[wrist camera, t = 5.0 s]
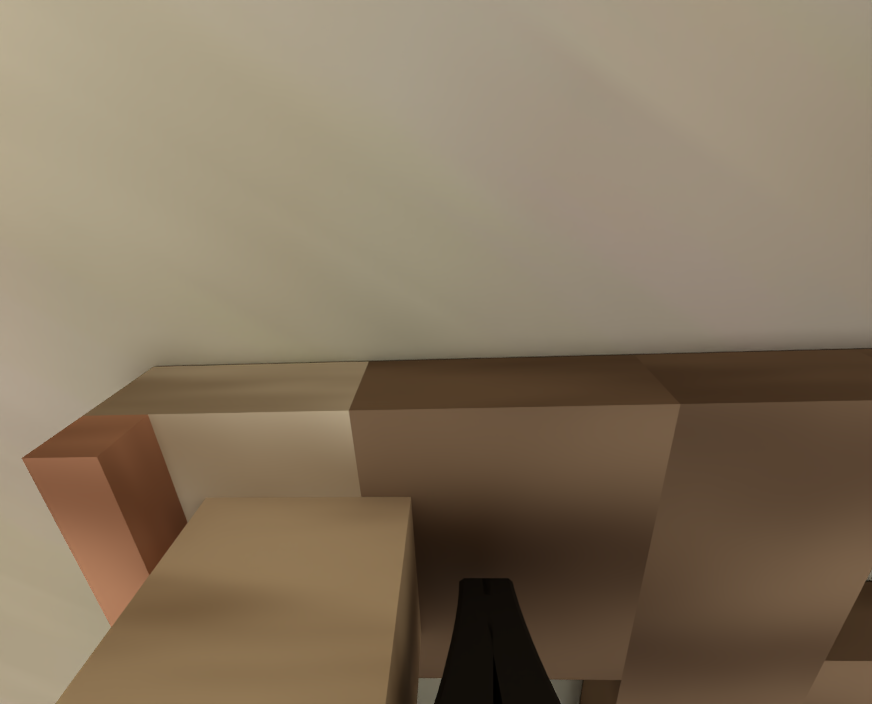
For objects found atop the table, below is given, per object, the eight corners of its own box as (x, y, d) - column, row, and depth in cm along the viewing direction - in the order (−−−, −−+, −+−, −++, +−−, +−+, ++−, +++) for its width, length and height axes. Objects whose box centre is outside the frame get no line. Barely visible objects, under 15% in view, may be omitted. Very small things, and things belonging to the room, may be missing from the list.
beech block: (421, 633, 12) (403, 913, 8) (249, 631, 13) (133, 902, 8) (411, 496, 10) (377, 767, 6) (206, 497, 10) (16, 756, 6)
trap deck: (917, 741, 18) (1036, 891, 14) (278, 730, 19) (237, 864, 16) (1216, 340, 11) (1619, 434, 7) (153, 366, 12) (21, 458, 8)
